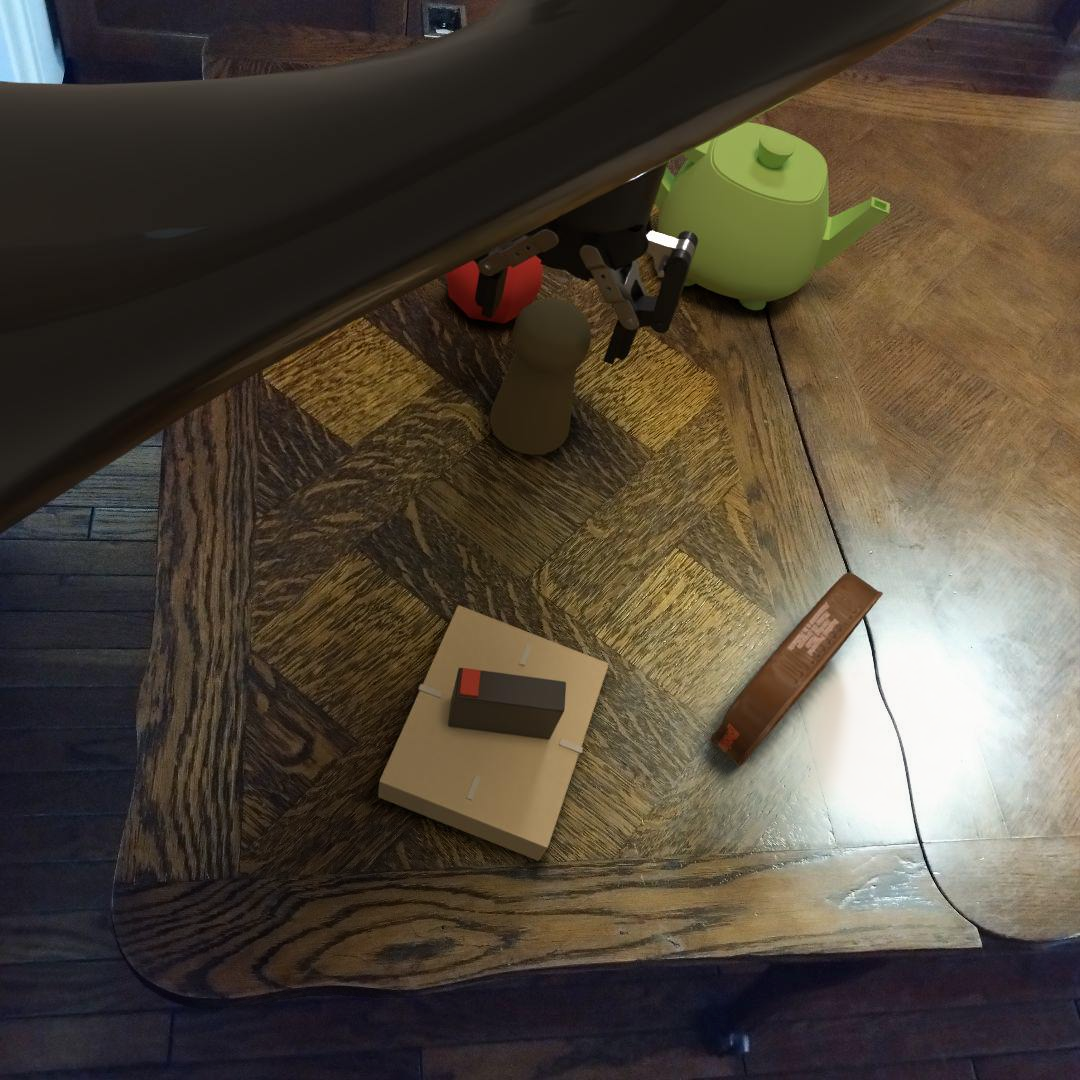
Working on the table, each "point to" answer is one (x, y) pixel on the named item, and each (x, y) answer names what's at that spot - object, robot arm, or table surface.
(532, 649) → the panel
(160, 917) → the table surface
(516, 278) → the apple
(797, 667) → the tin
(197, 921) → the table surface
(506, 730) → the red tipped black brick
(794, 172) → the teapot
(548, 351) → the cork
